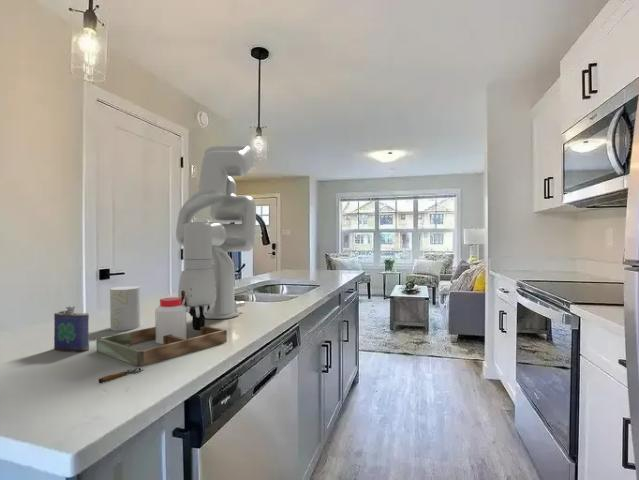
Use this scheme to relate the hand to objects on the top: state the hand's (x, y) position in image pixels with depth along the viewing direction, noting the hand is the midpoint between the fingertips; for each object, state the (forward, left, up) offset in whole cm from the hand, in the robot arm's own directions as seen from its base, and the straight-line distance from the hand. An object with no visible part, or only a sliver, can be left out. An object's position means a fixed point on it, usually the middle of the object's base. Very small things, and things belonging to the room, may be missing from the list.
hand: (198, 329), depth 113 cm
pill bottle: (+9, 0, -1) cm, 9 cm away
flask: (+28, -12, -1) cm, 31 cm away
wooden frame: (+13, +4, -1) cm, 14 cm away
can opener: (+30, +16, -2) cm, 34 cm away
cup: (+8, -24, -1) cm, 26 cm away
